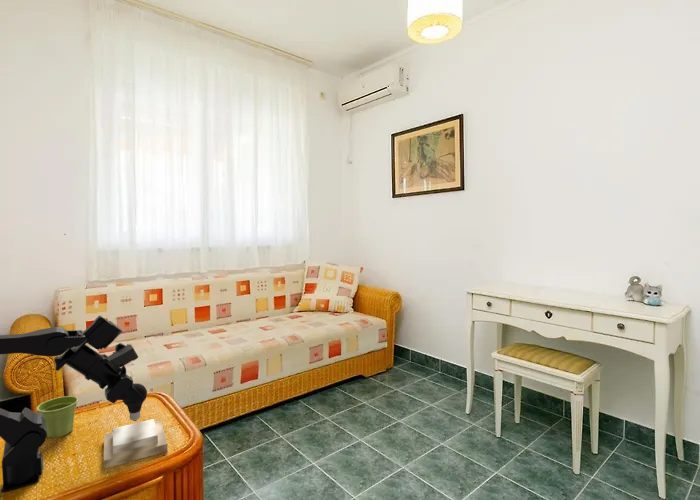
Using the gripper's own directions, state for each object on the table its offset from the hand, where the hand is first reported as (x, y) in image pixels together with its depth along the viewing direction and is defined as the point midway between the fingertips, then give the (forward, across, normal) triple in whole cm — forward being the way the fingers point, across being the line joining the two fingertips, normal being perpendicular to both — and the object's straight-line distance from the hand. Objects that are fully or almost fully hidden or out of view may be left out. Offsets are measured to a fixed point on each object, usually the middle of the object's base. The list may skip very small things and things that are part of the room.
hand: (140, 395), depth 104 cm
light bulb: (+4, 0, +6) cm, 7 cm away
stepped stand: (+8, -1, +10) cm, 13 cm away
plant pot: (-2, +20, +22) cm, 30 cm away
